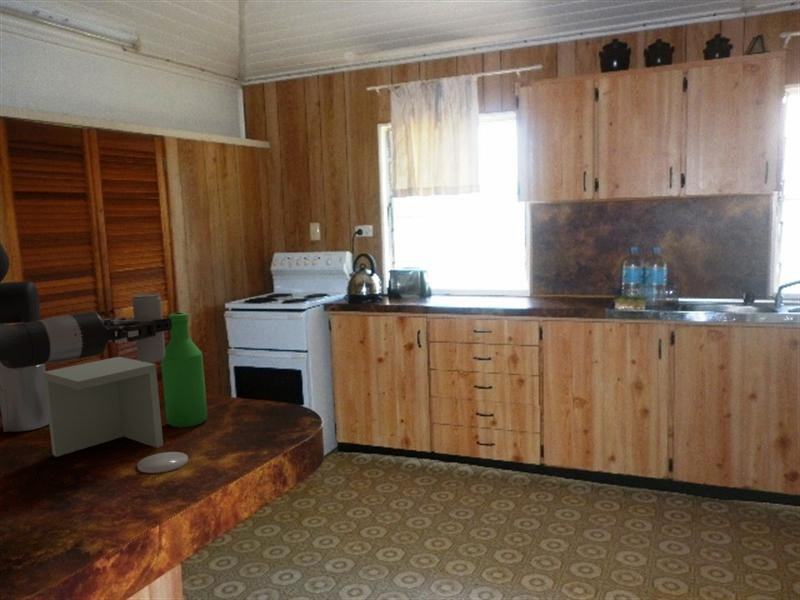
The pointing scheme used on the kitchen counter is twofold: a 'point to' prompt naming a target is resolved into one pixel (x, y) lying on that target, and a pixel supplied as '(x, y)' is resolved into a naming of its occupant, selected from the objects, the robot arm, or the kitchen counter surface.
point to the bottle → (183, 377)
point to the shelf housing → (103, 404)
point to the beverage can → (143, 311)
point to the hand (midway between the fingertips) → (162, 322)
